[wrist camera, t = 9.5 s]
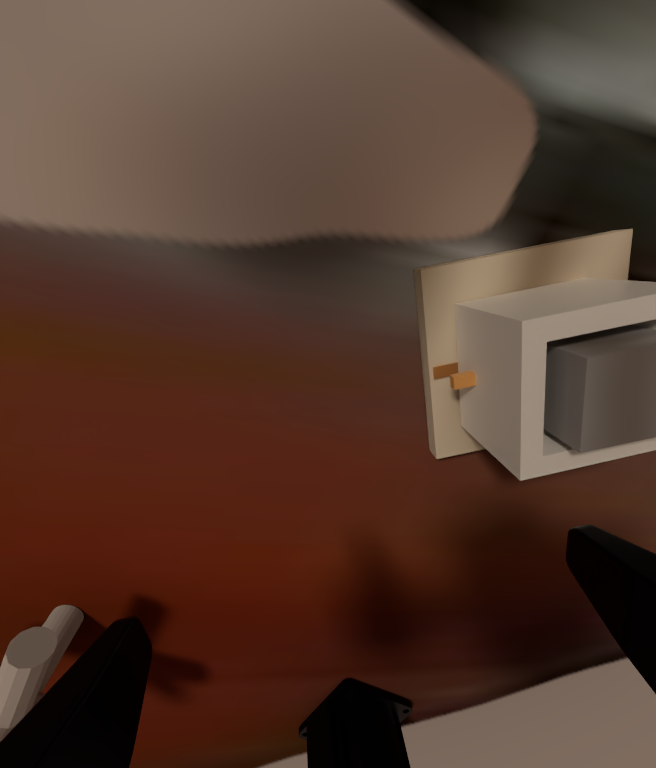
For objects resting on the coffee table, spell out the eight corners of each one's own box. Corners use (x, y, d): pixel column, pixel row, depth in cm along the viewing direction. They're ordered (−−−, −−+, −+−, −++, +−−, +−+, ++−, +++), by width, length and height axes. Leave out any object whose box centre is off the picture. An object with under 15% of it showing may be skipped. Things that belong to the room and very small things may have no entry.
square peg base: (614, 230, 17) (811, 213, 11) (597, 414, 21) (739, 487, 14) (413, 268, 17) (490, 276, 10) (429, 450, 20) (495, 540, 14)
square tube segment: (584, 277, 17) (700, 284, 12) (576, 400, 19) (670, 446, 14) (433, 307, 17) (493, 326, 12) (442, 429, 19) (496, 486, 14)
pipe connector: (176, 580, 22) (90, 824, 12) (125, 685, 24) (20, 953, 15) (-4, 529, 19) (-280, 782, 10) (-41, 651, 22) (-288, 944, 13)
